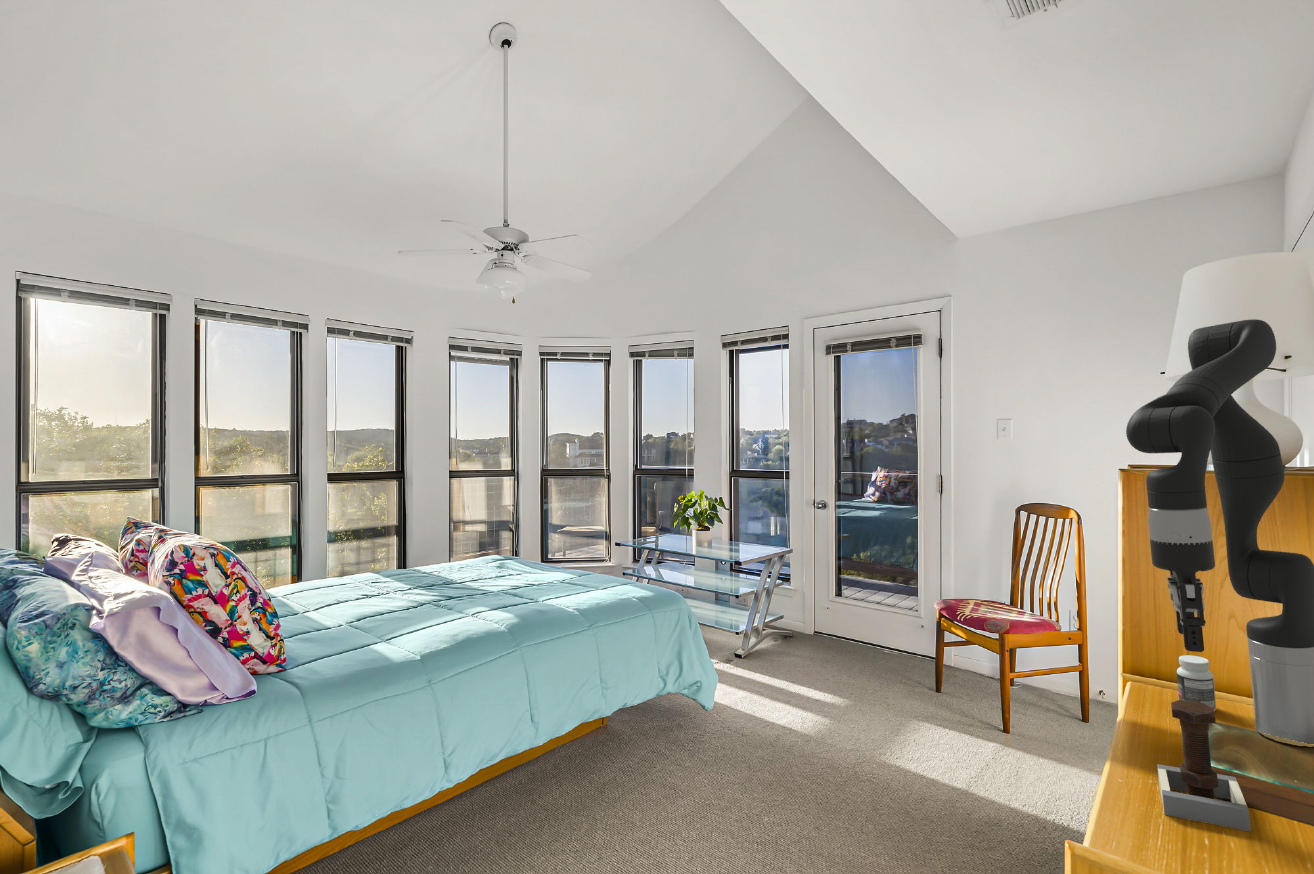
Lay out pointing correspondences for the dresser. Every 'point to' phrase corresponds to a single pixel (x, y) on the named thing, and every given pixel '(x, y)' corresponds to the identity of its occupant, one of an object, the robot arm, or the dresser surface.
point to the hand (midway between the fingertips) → (1190, 641)
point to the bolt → (1196, 747)
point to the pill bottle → (1196, 680)
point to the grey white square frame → (1204, 801)
